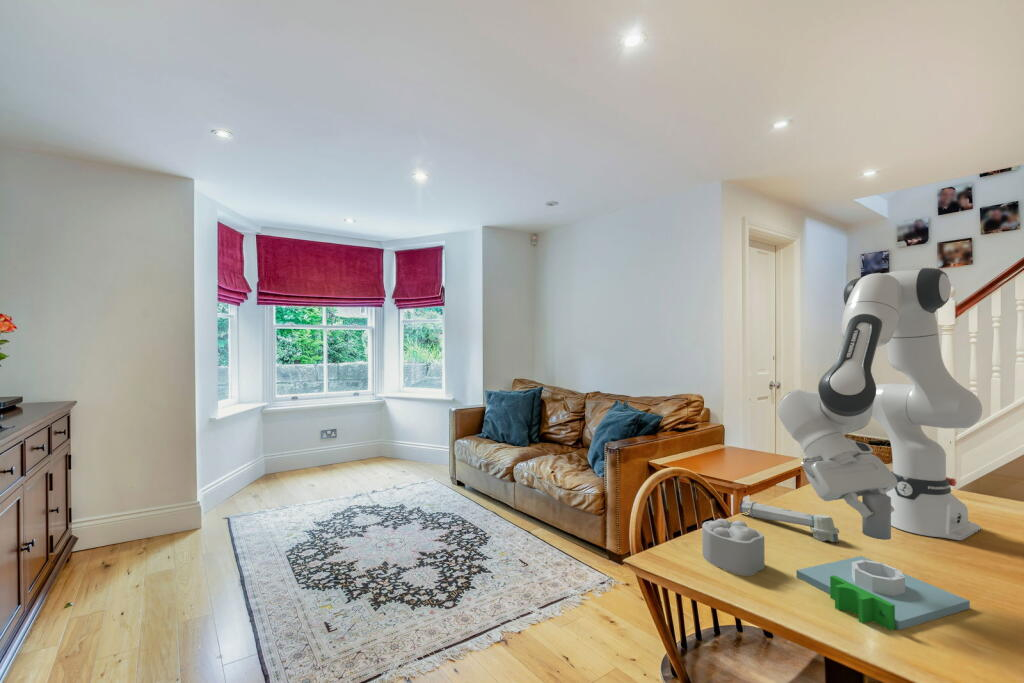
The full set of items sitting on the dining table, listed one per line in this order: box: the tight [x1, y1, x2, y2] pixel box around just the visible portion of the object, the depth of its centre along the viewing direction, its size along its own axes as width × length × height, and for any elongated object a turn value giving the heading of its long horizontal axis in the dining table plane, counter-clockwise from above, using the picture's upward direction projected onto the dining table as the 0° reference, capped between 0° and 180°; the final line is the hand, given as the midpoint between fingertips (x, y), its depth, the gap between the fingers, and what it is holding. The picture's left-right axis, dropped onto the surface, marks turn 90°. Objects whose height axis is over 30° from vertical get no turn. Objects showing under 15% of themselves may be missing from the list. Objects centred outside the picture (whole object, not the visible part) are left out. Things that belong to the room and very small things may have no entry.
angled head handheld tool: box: [739, 500, 840, 543], centre depth 129 cm, size 5×7×25 cm
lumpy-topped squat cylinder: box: [701, 518, 766, 577], centre depth 109 cm, size 10×13×9 cm
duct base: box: [796, 555, 971, 631], centre depth 95 cm, size 20×20×4 cm
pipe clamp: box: [829, 575, 896, 631], centre depth 88 cm, size 11×4×5 cm, turn 18°
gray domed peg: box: [861, 492, 892, 541], centre depth 95 cm, size 5×5×8 cm
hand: (879, 514), depth 95 cm, fingers closed on gray domed peg, 5 cm apart
